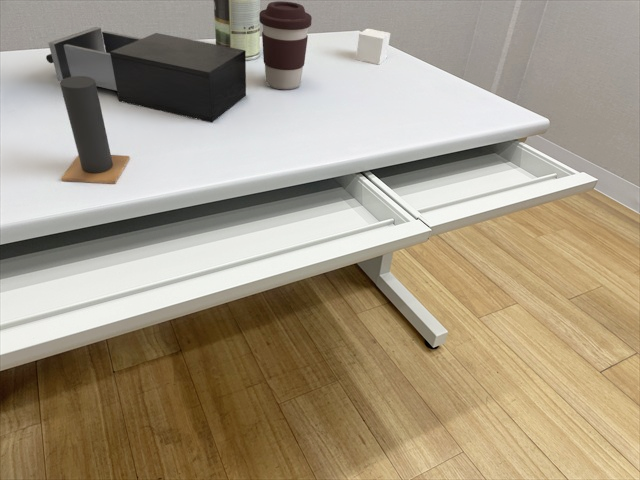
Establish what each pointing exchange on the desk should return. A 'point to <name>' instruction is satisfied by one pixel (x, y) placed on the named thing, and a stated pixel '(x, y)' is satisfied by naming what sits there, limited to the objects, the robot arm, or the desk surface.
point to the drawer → (87, 55)
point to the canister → (87, 123)
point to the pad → (110, 176)
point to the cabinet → (180, 76)
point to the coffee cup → (284, 43)
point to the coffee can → (238, 25)
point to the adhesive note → (372, 46)
